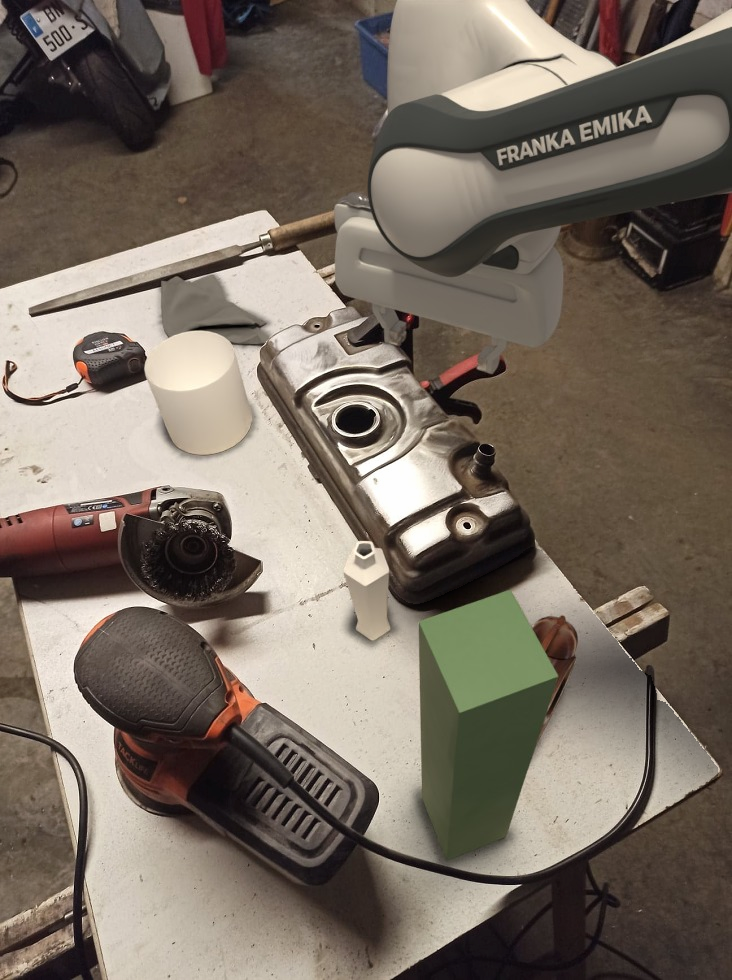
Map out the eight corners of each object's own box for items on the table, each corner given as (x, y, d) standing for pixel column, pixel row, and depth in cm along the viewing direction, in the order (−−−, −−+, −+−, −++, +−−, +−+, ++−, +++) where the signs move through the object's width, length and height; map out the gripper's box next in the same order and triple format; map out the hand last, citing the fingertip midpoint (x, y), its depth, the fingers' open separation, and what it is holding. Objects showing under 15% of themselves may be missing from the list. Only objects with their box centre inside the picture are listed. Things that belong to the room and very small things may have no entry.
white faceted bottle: (386, 648, 81) (379, 575, 69) (349, 636, 82) (336, 563, 70) (400, 612, 83) (395, 536, 72) (363, 602, 85) (353, 525, 73)
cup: (172, 400, 108) (147, 335, 98) (251, 390, 108) (235, 325, 98) (166, 460, 100) (140, 396, 91) (252, 450, 100) (234, 385, 91)
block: (506, 836, 68) (559, 676, 41) (446, 861, 67) (459, 713, 40) (479, 774, 72) (510, 588, 45) (421, 796, 71) (418, 621, 44)
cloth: (132, 296, 124) (128, 285, 122) (204, 264, 128) (201, 252, 127) (205, 378, 110) (202, 367, 108) (283, 339, 114) (281, 327, 113)
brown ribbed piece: (523, 771, 72) (542, 711, 60) (479, 745, 74) (488, 682, 62) (569, 681, 77) (594, 610, 65) (527, 659, 79) (544, 586, 67)
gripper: (313, 204, 60) (327, 343, 71) (554, 260, 53) (531, 406, 63) (352, 172, 64) (360, 309, 74) (582, 221, 57) (556, 365, 67)
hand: (440, 354), depth 69 cm, fingers open, 8 cm apart
